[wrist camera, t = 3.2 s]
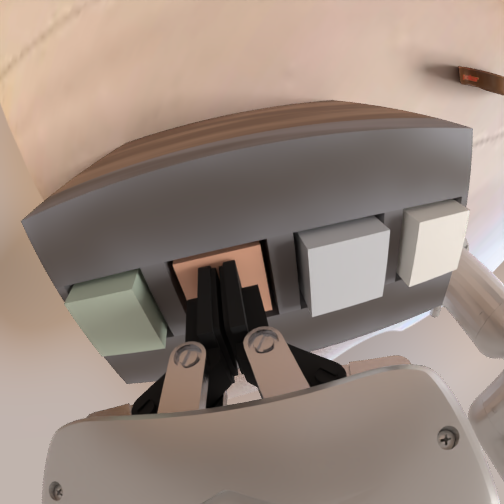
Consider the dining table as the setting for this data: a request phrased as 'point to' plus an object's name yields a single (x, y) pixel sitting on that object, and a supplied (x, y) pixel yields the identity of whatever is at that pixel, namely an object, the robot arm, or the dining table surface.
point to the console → (254, 210)
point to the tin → (482, 79)
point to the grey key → (342, 263)
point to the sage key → (118, 313)
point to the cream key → (431, 240)
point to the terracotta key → (244, 256)
